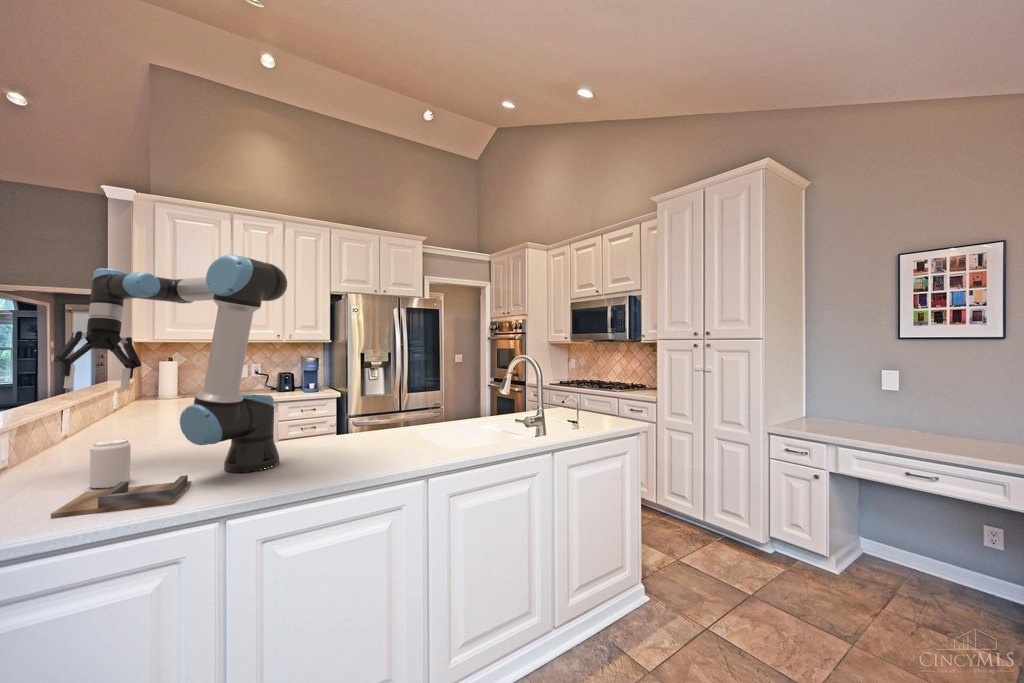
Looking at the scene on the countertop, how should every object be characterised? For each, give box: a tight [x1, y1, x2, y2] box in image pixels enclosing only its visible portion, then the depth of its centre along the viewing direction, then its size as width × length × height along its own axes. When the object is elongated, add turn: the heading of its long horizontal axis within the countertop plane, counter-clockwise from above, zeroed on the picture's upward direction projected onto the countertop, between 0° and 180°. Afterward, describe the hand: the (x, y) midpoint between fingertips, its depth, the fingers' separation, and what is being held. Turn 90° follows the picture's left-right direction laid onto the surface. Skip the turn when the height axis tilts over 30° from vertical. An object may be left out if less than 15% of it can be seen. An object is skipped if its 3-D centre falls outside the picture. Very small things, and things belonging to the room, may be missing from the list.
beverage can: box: [89, 438, 131, 489], centre depth 118 cm, size 8×8×12 cm
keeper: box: [50, 474, 192, 519], centre depth 107 cm, size 22×16×4 cm
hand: (97, 388), depth 128 cm, fingers open, 13 cm apart
